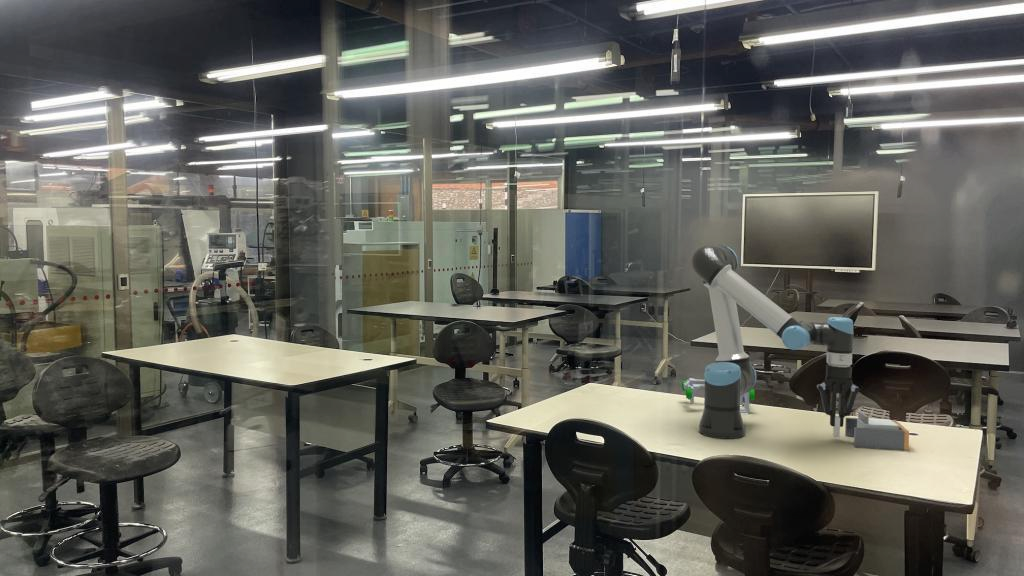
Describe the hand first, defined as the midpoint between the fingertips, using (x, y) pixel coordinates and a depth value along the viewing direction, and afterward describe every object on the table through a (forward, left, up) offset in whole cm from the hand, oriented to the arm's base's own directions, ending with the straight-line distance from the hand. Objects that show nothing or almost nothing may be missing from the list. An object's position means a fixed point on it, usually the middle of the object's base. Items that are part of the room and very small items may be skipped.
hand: (836, 436), depth 223 cm
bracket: (-36, +38, -2) cm, 53 cm away
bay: (+11, 0, -1) cm, 11 cm away
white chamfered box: (+12, 0, -1) cm, 12 cm away
